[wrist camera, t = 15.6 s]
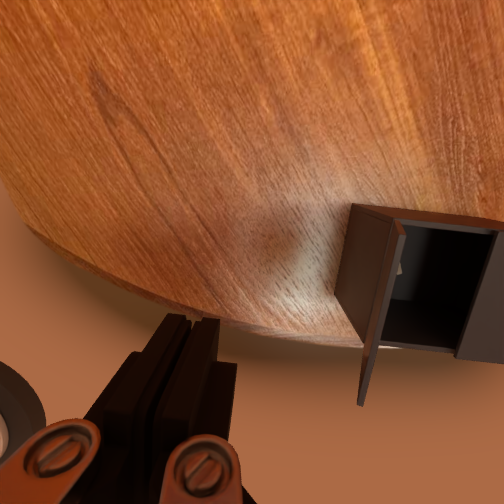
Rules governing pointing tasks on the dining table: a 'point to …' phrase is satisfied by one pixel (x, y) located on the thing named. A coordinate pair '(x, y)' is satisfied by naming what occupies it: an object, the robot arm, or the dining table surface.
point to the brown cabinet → (428, 281)
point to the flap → (381, 306)
